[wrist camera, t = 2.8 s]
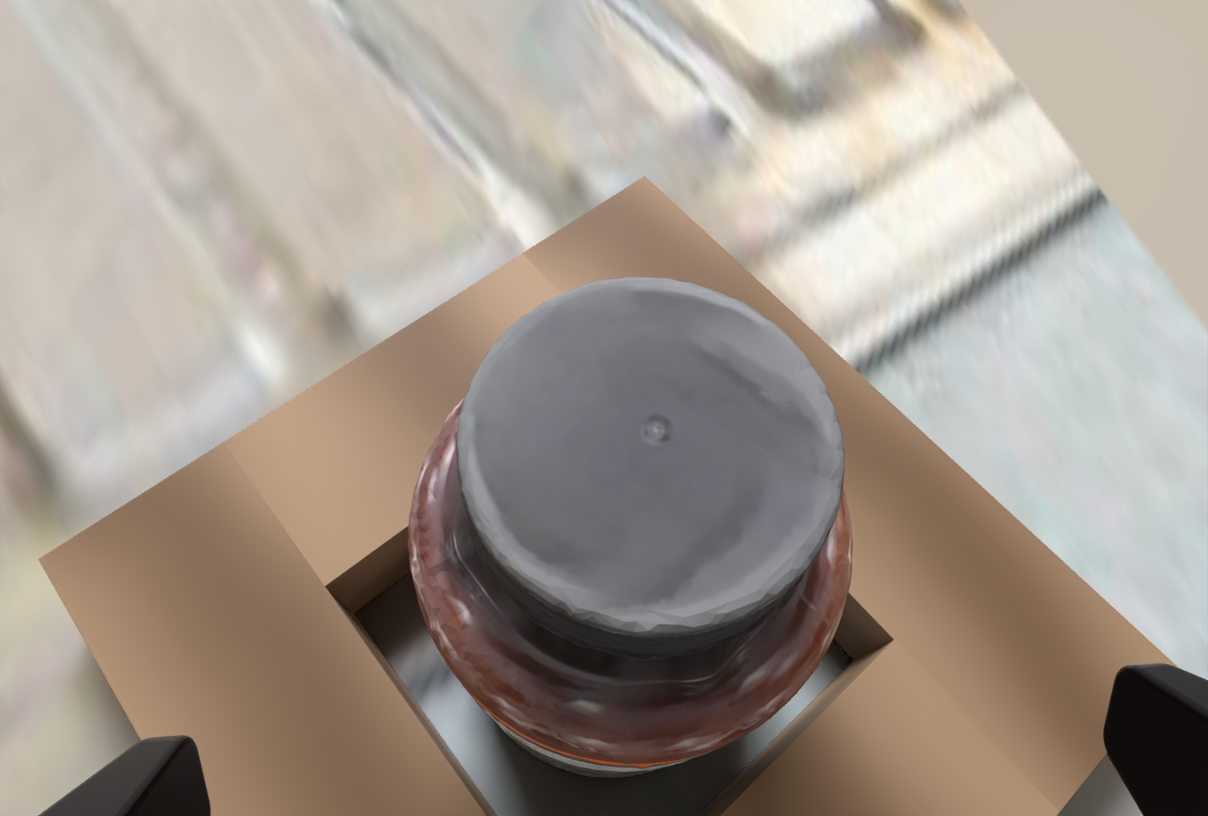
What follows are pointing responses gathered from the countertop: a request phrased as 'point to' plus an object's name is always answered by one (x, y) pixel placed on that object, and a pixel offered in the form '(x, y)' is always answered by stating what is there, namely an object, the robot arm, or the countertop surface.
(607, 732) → the supplement bottle
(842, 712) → the square wooden frame
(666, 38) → the countertop surface
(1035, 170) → the countertop surface
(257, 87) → the countertop surface
